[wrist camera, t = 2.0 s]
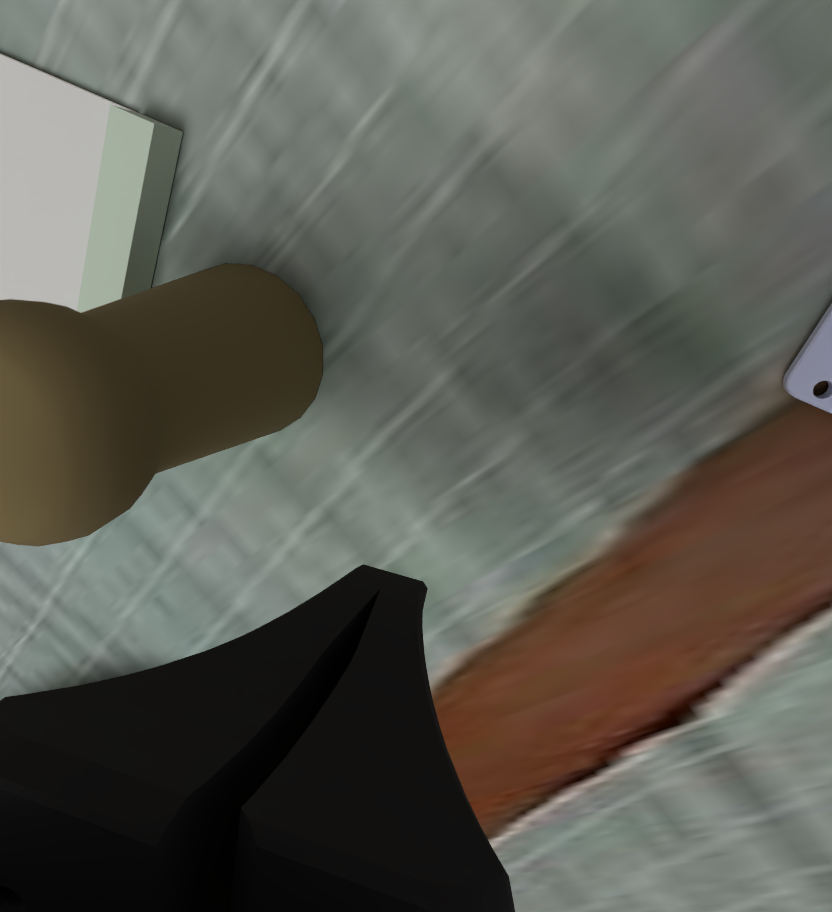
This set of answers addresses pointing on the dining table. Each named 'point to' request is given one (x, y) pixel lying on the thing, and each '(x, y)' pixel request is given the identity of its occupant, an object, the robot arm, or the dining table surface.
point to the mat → (46, 182)
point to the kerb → (128, 207)
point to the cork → (142, 392)
